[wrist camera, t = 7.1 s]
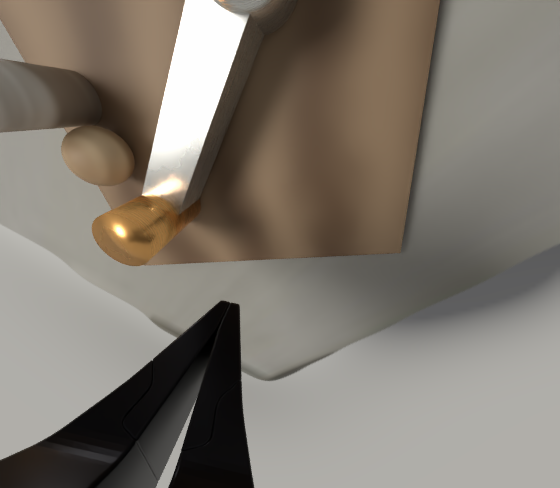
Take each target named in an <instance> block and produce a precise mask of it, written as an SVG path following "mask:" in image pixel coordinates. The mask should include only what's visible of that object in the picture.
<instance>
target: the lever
mask: <svg viewBox="0 0 560 488" xmlns="http://www.w3.org/2000/svg"><path fill="white" fill-rule="evenodd" d="M296 3H297V0H186V2H185V6H184V10H183V15H182V19H181V24H180V28H179V33H178V37H177V41H176V46H175V50H174V55H173V59H172V64H171V68H170V72H169V77H168V81H167V86H166V90H165V94H164V99H163V103H162V108H161V112H160V117H159V121H158V125H157V130H156V134H155V139H154V143H153V148H152V152H151V156H150V161H149V165H148V170H147V174H146V179H145V183H144V187H143V192H142V195H141V196H139V197H137V198H135V199H133V200H131V201H129V202H127V203H125V204H123V205H121V206H119V207H117V208H115V209H113V210H111V211H109V212H107V213H105V214H103V215H101V216H99V217H97V218H96V219H95V220H94V222H93V224H92V233H93V236H94V239H95V241H96V242H97V244H98V245H99V247H100V248H101V249H102V250H103V251H104V252H105V253H106V254H107V255H109V256H110V257H111V258H113V259H114V260H116V261H118V262H120V263H123V264H126V265H130V266H141V265H144V264H146V263H147V262H148V261H149V260H150V259H151V258H152V257H153V256H155V255H156V254H157V253H158V252H159V251H160V250H161V249H162V248H163V247H164V246H165V245H167V244H168V243H169V242H170V241H171V240H172V239H173V238H174V237H175V236H176V235H177V234H178V233H180V232H181V231H182V230H183V229H184V228H185V227H186V226H187V225H188V224H189V223H190V222H191V221H193V220H194V219H195V218H196V217H197V216H198V215H199V213H200V209H201V203H200V199H199V198H200V196H201V193H202V191H203V188H204V186H205V183H206V181H207V178H208V176H209V173H210V171H211V168H212V166H213V163H214V161H215V158H216V156H217V153H218V151H219V148H220V146H221V143H222V141H223V138H224V136H225V133H226V131H227V128H228V126H229V123H230V121H231V118H232V116H233V113H234V111H235V108H236V106H237V103H238V101H239V98H240V96H241V93H242V91H243V88H244V86H245V83H246V81H247V78H248V76H249V73H250V70H251V68H252V65H253V63H254V60H255V58H256V55H257V53H258V50H259V48H260V45H261V43H262V40H263V38H264V35H268V34H271V33H273V32H275V31H276V30H278V29H279V28H280V27H281V26H282V25H283V24H284V23H285V22H286V21H287V20H288V18H289V17H290V15H291V14H292V12H293V10H294V8H295V5H296Z"/></svg>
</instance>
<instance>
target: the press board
mask: <svg viewBox="0 0 560 488" xmlns="http://www.w3.org/2000/svg"><path fill="white" fill-rule="evenodd" d="M185 2H186V0H0V20H1V21H2V23H3V25H4V26H5V28H6V30H7V32H8V33H9V35H10V37H11V38H12V40H13V42H14V44H15V45H16V47H17V49H18V50H19V52H20V54H21V55H22V57H23V59H24V61H25V62H26V63H24V62H18V61H11V60H5V59H0V132H13V131H26V130H40V129H53V128H64V129H65V130H66V132H67V134H68V133H69V132H70V131H71V130H73V129H75V128H77V127H81V126H98V127H102V128H105V129H108V130H110V131H112V132H114V133H115V134H117V135H118V136H120V137H121V138H122V139H123V140H124V141H125V142H126V143H127V144H128V146H129V147H130V149H131V151H132V153H133V156H134V160H135V165H134V170H133V173H132V174H131V176H130V177H129V178H128V179H127V180H126V181H124V182H123V183H121V184H118V185H114V186H99V185H98V187H99V188H100V190H101V192H102V194H103V195H104V197H105V199H106V200H107V202H108V204H109V206H110V207H111V209H112V210H113V209H115V208H117V207H119V206H121V205H123V204H125V203H127V202H129V201H131V200H133V199H135V198H137V197H139V196H141V195H142V192H143V187H144V183H145V179H146V174H147V170H148V165H149V161H150V156H151V152H152V148H153V143H154V139H155V134H156V130H157V125H158V121H159V117H160V112H161V108H162V103H163V99H164V94H165V90H166V86H167V81H168V77H169V72H170V68H171V64H172V59H173V55H174V50H175V46H176V41H177V37H178V33H179V28H180V24H181V19H182V15H183V10H184V6H185ZM439 4H440V0H297V3H296V5H295V8H294V10H293V12H292V14H291V15H290V17H289V18H288V20H287V21H286V22H285V23H284V24H283V25H282V26H281V27H280V28H279V29H278V30H276V31H275V32H273V33H271V34H268V35H264V38H263V40H262V43H261V45H260V48H259V50H258V53H257V55H256V58H255V60H254V63H253V65H252V68H251V70H250V73H249V76H248V78H247V81H246V83H245V86H244V88H243V91H242V93H241V96H240V98H239V101H238V103H237V106H236V108H235V111H234V113H233V116H232V118H231V121H230V123H229V126H228V128H227V131H226V133H225V136H224V138H223V141H222V143H221V146H220V148H219V151H218V153H217V156H216V158H215V161H214V163H213V166H212V168H211V171H210V173H209V176H208V178H207V181H206V183H205V186H204V188H203V191H202V193H201V196H200V198H199V199H200V203H201V209H200V213H199V215H198V216H197V217H196V218H195V219H194V220H193V221H191V222H190V223H189V224H188V225H187V226H186V227H185V228H184V229H183V230H182V231H181V232H180V233H178V234H177V235H176V236H175V237H174V238H173V239H172V240H171V241H170V242H169V243H168V244H167V245H165V246H164V247H163V248H162V249H161V250H160V251H159V252H158V253H157V254H156V255H155V256H153V257H152V258H151V259H150V260H149V261H148V262H147V263H146V264H144V265H163V264H184V263H204V262H225V261H245V260H266V259H286V258H307V257H327V256H348V255H368V254H389V253H400V252H401V246H402V240H403V233H404V227H405V220H406V214H407V208H408V201H409V195H410V189H411V182H412V176H413V170H414V163H415V157H416V151H417V144H418V138H419V131H420V125H421V119H422V112H423V106H424V100H425V93H426V87H427V81H428V74H429V68H430V61H431V55H432V49H433V42H434V36H435V30H436V23H437V17H438V11H439Z"/></svg>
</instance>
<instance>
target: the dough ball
mask: <svg viewBox="0 0 560 488" xmlns="http://www.w3.org/2000/svg"><path fill="white" fill-rule="evenodd" d="M61 151H62V156H63V159H64V161H65V163H66V165H67V166H68V168H69V169H70V170H71V171H72V172H73V173H74V174H75V175H77V176H78V177H79V178H81V179H83V180H84V181H86V182H88V183H91V184H94V185H99V186H114V185H118V184H121V183H123V182H124V181H126V180H127V179H128V178H129V177H130V176H131V174H132V173H133V170H134V165H135V160H134V156H133V153H132V151H131V149H130V147H129V146H128V144H127V143H126V142H125V141H124V140H123V139H122V138H121V137H120V136H118V135H117V134H115V133H114V132H112V131H110V130H108V129H105V128H102V127H98V126H81V127H77V128H75V129H73V130H71V131H70V132H69V133H68V134H67V135H66V136H65V137H64V139H63V142H62V146H61Z"/></svg>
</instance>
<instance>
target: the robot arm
mask: <svg viewBox="0 0 560 488" xmlns="http://www.w3.org/2000/svg"><path fill="white" fill-rule="evenodd" d="M197 396H198V397H197ZM196 398H197V400H196ZM195 400H196V403H195ZM194 403H195V406H194V410H193V413H192V416H191V420H190V423H189V426H188V430H187V433H186V436H185V440H184V443H183V447H182V449H181V453H180V457H179V459H178V463H177V466H176V469H175V471H174V474H173V477H172V480H171V482H170V485H169V487H168V488H254V484H253V478H252V471H251V465H250V458H249V452H248V445H247V438H246V431H245V423H244V415H243V405H242V382H241V343H240V306H239V304H236V303H230V302H227V301H220V302H219V303H218V304H216V305H215V306H214V307H213V308H212V309H211V310H209V311H208V312H207V313H206V314H205V315H204V316H203V317H201V318H200V319H199V320H198V321H197V322H196V323H194V324H193V325H192V326H191V327H190V328H189V329H187V330H186V331H185V332H184V333H183V334H182V335H180V336H179V337H178V338H177V339H176V340H175V341H173V342H172V343H171V344H170V345H169V346H168V347H167V348H166V349H164V350H163V351H162V352H161V353H159V354H158V355H157V356H156V357H155V358H154V359H153V361H150V362H149V363H148V364H147V365H145V366H144V367H143V368H142V369H141V370H140V371H138V372H137V373H136V374H135V375H133V376H132V377H131V378H130V379H129V380H127V381H126V382H125V383H123V384H122V385H121V386H119V387H118V388H117V389H115V390H114V391H113V392H111V393H110V394H109V395H107V396H106V397H105V398H103V399H102V400H100V401H99V402H98V403H96V404H95V405H94V406H92V407H91V408H89V409H88V410H87V411H85V412H84V413H83V414H81V415H80V416H78V417H77V418H76V419H74V420H73V421H72V422H70V423H69V424H67V425H66V426H65V427H63V428H62V429H60V430H59V431H57V432H56V433H54V434H53V435H51V436H49V437H48V438H46V439H44V440H42V441H40V442H39V443H37V444H35V445H33V446H31V447H29V448H26V449H24V450H22V451H20V452H17V453H15V454H13V455H11V456H9V457H7V458H4V459H2V460H0V488H155V487H156V486H157V483H158V480H159V479H160V477H161V475H162V472H163V470H164V468H165V466H166V464H167V462H168V459H169V457H170V455H171V453H172V451H173V448H174V446H175V444H176V442H177V440H178V438H179V435H180V433H181V431H182V428H183V427H184V424H185V422H186V420H187V418H188V416H189V413H190V411H191V409H192V407H193V405H194Z"/></svg>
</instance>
